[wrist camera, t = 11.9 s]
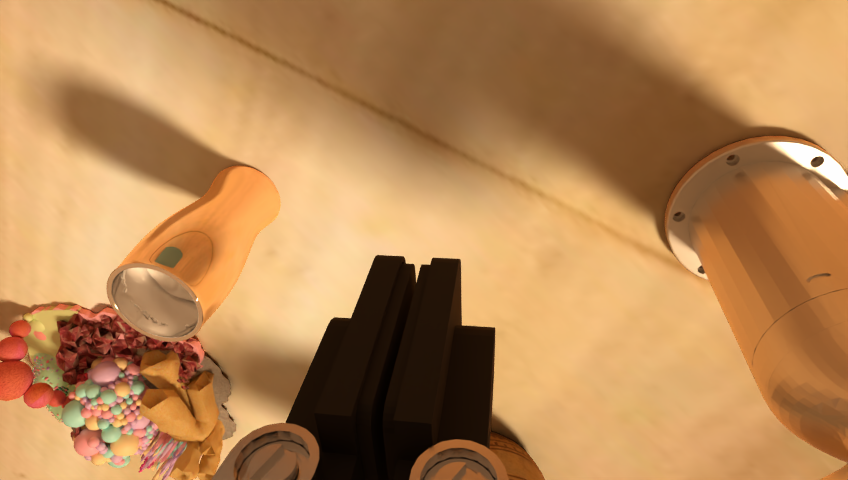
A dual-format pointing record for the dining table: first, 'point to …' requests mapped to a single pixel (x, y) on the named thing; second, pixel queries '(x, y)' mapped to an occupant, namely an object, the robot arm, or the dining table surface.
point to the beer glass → (193, 257)
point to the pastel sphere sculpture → (120, 390)
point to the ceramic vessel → (514, 459)
